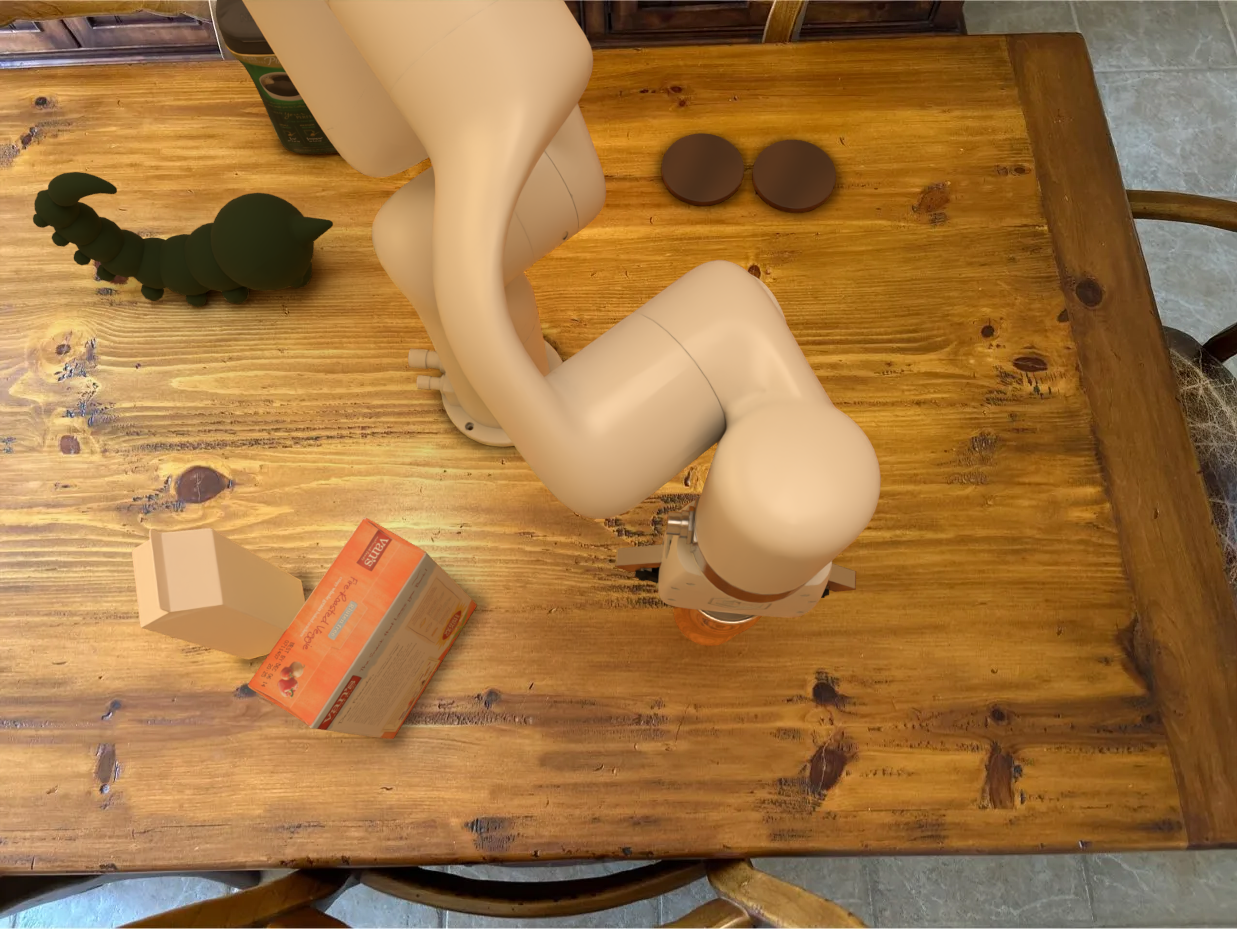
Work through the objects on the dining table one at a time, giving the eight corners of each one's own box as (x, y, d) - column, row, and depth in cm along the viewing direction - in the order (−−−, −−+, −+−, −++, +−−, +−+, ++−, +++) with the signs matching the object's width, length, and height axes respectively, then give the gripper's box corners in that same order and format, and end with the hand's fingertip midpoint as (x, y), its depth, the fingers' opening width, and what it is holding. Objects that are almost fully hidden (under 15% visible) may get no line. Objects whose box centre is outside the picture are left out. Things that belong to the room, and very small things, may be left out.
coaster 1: (658, 202, 96) (658, 198, 95) (664, 135, 99) (665, 130, 98) (741, 208, 96) (741, 204, 95) (745, 140, 99) (745, 135, 98)
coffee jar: (368, 99, 101) (313, -42, 84) (364, 156, 99) (306, 23, 81) (284, 102, 101) (211, -38, 84) (277, 159, 99) (201, 27, 81)
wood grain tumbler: (742, 658, 75) (772, 636, 60) (661, 642, 75) (672, 615, 61) (754, 579, 77) (786, 539, 63) (675, 563, 77) (690, 519, 63)
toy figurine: (134, 333, 94) (363, 308, 92) (-3, 231, 76) (278, 196, 74) (144, 256, 97) (366, 230, 95) (15, 141, 79) (285, 105, 77)
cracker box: (426, 573, 83) (363, 510, 63) (480, 605, 82) (432, 552, 62) (337, 706, 79) (240, 684, 59) (393, 742, 78) (312, 731, 58)
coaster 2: (750, 209, 96) (751, 205, 95) (754, 141, 99) (755, 136, 98) (833, 215, 95) (835, 211, 95) (835, 147, 98) (836, 142, 98)
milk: (248, 660, 81) (112, 623, 60) (238, 597, 82) (103, 539, 62) (314, 641, 81) (202, 597, 60) (303, 578, 83) (190, 515, 62)
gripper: (597, 584, 49) (601, 628, 65) (914, 615, 48) (836, 651, 65) (610, 456, 51) (611, 530, 68) (914, 484, 50) (838, 552, 67)
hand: (722, 589), depth 66 cm, fingers closed on wood grain tumbler, 7 cm apart
